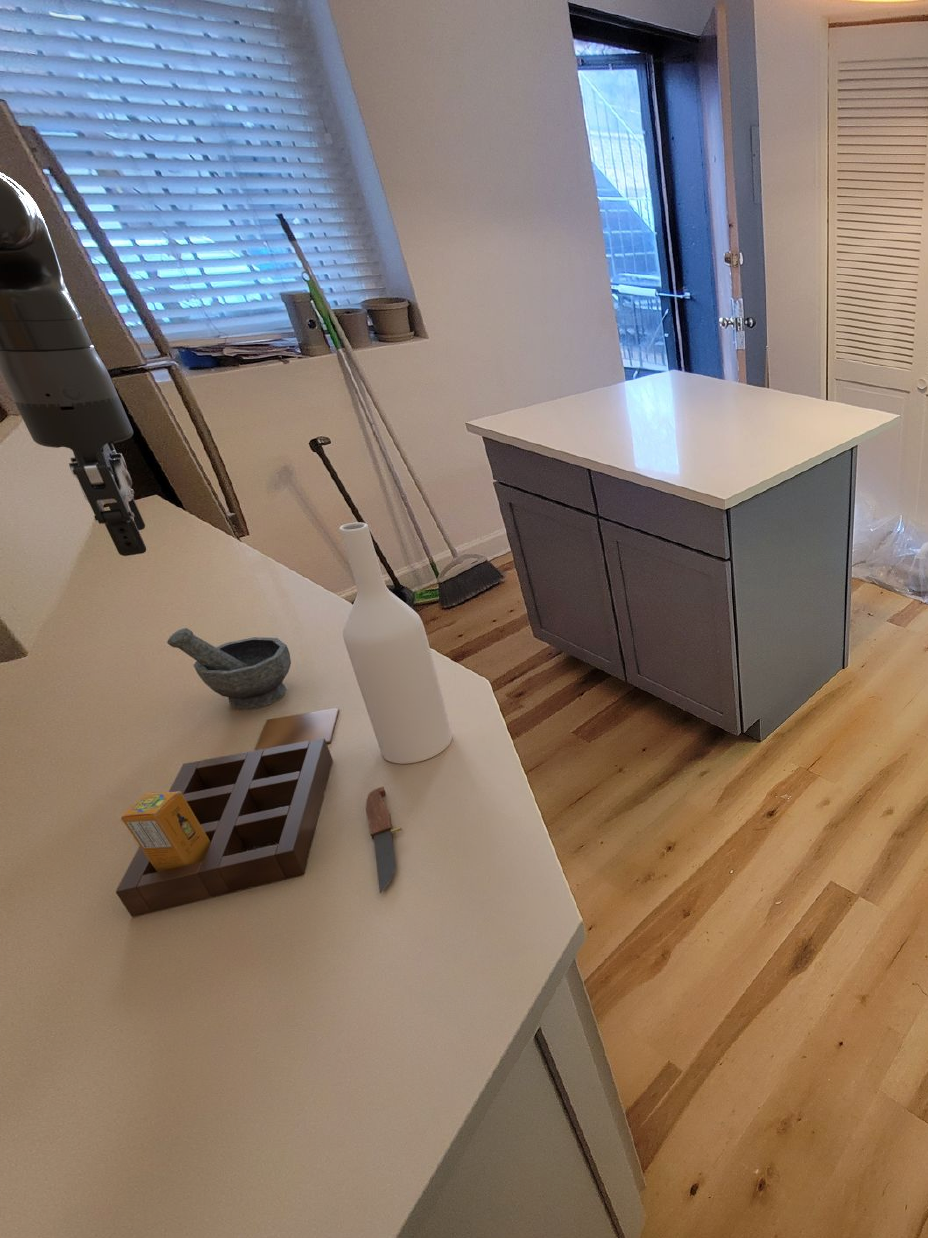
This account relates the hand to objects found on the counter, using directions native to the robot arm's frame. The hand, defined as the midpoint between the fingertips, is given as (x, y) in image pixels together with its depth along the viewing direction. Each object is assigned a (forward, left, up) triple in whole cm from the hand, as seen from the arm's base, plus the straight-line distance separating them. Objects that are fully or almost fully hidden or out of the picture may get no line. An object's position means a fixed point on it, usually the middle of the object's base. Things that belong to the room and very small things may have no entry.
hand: (134, 541), depth 78 cm
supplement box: (+5, -29, -26) cm, 39 cm away
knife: (+22, -31, -26) cm, 46 cm away
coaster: (+10, -6, -26) cm, 28 cm away
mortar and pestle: (+3, +5, -26) cm, 26 cm away
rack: (+8, -23, -26) cm, 36 cm away
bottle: (+24, -14, -26) cm, 38 cm away
